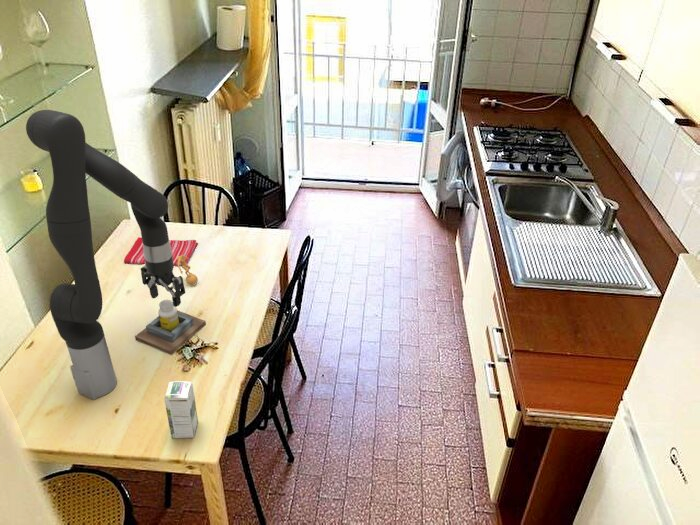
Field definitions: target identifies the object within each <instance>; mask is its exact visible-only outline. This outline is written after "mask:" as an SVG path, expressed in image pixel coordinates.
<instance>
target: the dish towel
mask: <svg viewBox="0 0 700 525" xmlns="http://www.w3.org/2000/svg"><path fill="white" fill-rule="evenodd" d="M169 242H170V245H171V250H172V257H173V263H174V267H178V260H177V257H178V256H182V255H184V256H186V257H187V258H189V259H190V260H189V259H187V258H184V259H185V262H186V263H187V265H189V262H191V259H192V257H193V255H194V254H195V252H196V250H197V248H198V245H199V242H197V240H196V239H187V240H185V239H184V240H183V239H182V240H178V239H169ZM196 247H197V248H196ZM130 248H131V249H130V250H129V251H128V253H127V254H126V255H125V256H124V259H123V263H124V264H126V263H128V264H127V265H129V263H130V265H142V264H145V265H146V263H145V258H144V252H143V241H142V236H139V237H137V239H136V240H135V241H134V242H133V245H132V246H131V247H130ZM195 249H196V250H195ZM145 265H144V266H145ZM179 266H180V267H182V265H181V263H180V264H179Z"/></svg>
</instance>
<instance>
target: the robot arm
mask: <svg viewBox="0 0 700 525" xmlns="http://www.w3.org/2000/svg"><path fill="white" fill-rule="evenodd" d="M83 126H84V125H83V124H82V122H81V120H79V119H78V118H77V117H75V116H74V115H72V114H70V113H67V112H62V111H57V110H53V109H52V110H51V109H40V110H37V111H34V112H33V113H32V114H31V115H30V116H29V117H28V118H27V120H26V125H25V130H26V134H27V135H26V136H27V138H28V139H29V140H30V141H31V143H32V144H33V145H34V146H35V147H37V148H38V149H40V150H42V151H45V152H47V153H49V157H50V161H51V167H52V175H53V178H52V179H53V181H52V188H51V190H50V194H49V196H48V199H47V202H46V206H45V207H46V208H45V216H46V217H45V218H46V225H47V232H48V237H49V240H50V243H51V244H52V246H53V248H54V249H55V251H56V252H57V253H58V254H59V256H60V258H61V259H62V260H63V262H64V263H65V264H66V266H67V267H68V268H69V270H70V272H71V275H72V277H73V281H74V283H67V282H66V283H61V284H58V285H57V286H55V287H54V289H53V290H52V292H51V294H50V298H49V311H50V314H51V317H52V320H53V322H54V324H55V327H56V329H57V332H58V335H59V336H60V338H61V339H62V340H63V341H64V342H65V344H66V347H67V351H68V354H69V357H70V360H71V363H72V365H71V366H70V367H69V368H70V372H71V375H72V378H73V380H74V383H75V387H76V390H77V392H78V393H79V394H81V395H83V396H85V397H87V398H89V399H90V400H96V399H98V398H100V397H104V396H106V395H107V394H109V393H111V392H112V391H113V390H114V389H115V388H116V386H117V384H118V383H117V382H118V380H117V376H116V372H115V369H114V365H113V362H112V358H111V354H110V351H109V347H108V343H107V339H106V336H105V332H104V328H103V326H102V324H101V323H100V322H99V321H98V320H99V318H100V317H101V314H102V310H103V295H102V294H103V293H102V289H101V284H100V279H99V275H98V271H97V265H96V260H95V251H94V244H93V232H92V224H91V223H92V222H91V220H92V219H91V214H90V207H89V198H88V189H87V188H88V187H87V177H86V176H87V175H88V176H89V177H91V178H92V179H93V180H94V181H96V182H98V183H99V184H100V185H101V186H103V187H105V188H106V189H107V190H108V191H110V192H111V193H112V194H114V195H115V196H117V197H119V198H120V199H121V200H124V201H126V202H128V203H130V207H131V211H132V214H133V217H134V219H135V220H136V223H137V225H138V228H139V230H140V234H141V236H140V237H141V238H142V241H143V252H144V258H145V263H146V265H143V266H142V267H141V268H140V273H141V274H140V275H141V281H142V284H143V285H144V286H145V285H146V286H147V287H148V289H149V295H150V298H151V299H156V298H158V297H159V290H158V286H161V287H162V288H164V289H165V290H166V292H169V293H170V295H171V296H172V297H171V298H172V299H171V301H172V302H173V306H174V307H176V308H177V307H178V306H180V305H181V304H182V301H181V300H182V299H181V297H183V295H185V294H186V288H185V284H184V279H183V276H181V275H179V276H175V274H174V273H173V271H174V269H175V268H174V267H175V266H174V263H173V257H172V250H171V245H170V242H169V240H170V238H169V232H168V226H167V223H166V222H165V221H164V220H163V219H162V217H164V216H165V215H166V214H167V213H168V210H169V202H168V200H167V198H166V196H165V195H164V194H162V193H161V192H160V191H158V189H156V188H154V187H153V186H151V185H149V184H148V183H146V182H145V181H143V180H142V179H140V177H138V176H137V175H136V174H134V173H133V172H132V171H131V170H130V169H128V168H127V167H126V166H124V165H123V163H120V162H119V161H117V160H115V159H114V158H112V157H111V156H109V155H107V154H105V153H103V152H101V151H100V150H99V149H96V148H95V147H93V145H92V146H91V144H88V143H87V142H86V133H85V130H84V127H83ZM174 290H175V291H174Z"/></svg>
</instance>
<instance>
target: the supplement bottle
mask: <svg viewBox="0 0 700 525" xmlns="http://www.w3.org/2000/svg"><path fill="white" fill-rule="evenodd" d="M157 312H158V316H159V319H160V324H161V328H162V329H164V330H167V331H169V332H172V331H173V330H174V329H175V328H176V327H178V326H179V320H178V315H177V307H174V306H173V300H172V299H164V300H161V301H160V302H159V304H158V311H157Z"/></svg>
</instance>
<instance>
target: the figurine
mask: <svg viewBox="0 0 700 525" xmlns="http://www.w3.org/2000/svg"><path fill="white" fill-rule="evenodd" d="M184 258H187V257H186V256H184V255H182V256H178V257H177V260H178V266H177V267H178V270H179V271H180V273H181V275H182V274H184V273H185V275H186V277H185V281H186V282H185V283H187V285H189V286H195V285H196V284H197V282H198V276H197V275H196V274H194V273H192V272H190V271H189V270H190V269H191V266H190V265H189V264H188V265H187V263H186V262H185V259H184ZM187 259H189V258H187ZM189 260H190V261H191V259H189ZM180 263H181V265H182V266H179V264H180ZM181 267H182V268H181ZM182 270H184V271H185V272H184V271H182ZM183 272H184V273H183Z"/></svg>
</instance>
